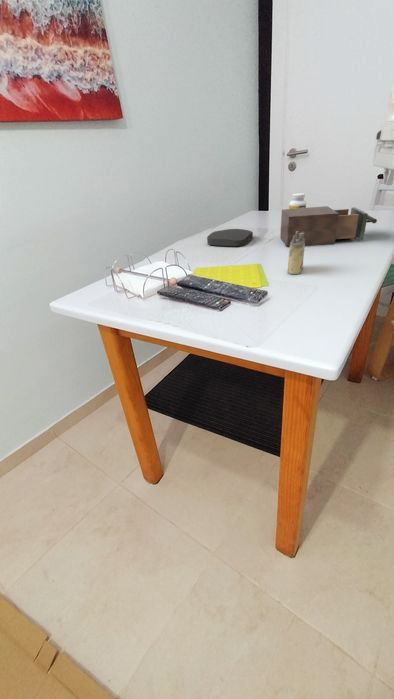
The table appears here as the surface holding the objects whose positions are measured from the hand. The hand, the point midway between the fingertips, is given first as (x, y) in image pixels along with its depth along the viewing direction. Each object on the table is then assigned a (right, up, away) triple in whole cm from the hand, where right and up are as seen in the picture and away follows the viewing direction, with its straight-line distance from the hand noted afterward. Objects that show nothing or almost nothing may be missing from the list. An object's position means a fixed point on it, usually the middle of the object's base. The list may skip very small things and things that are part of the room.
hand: (387, 184), depth 106 cm
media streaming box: (-48, -13, +17) cm, 53 cm away
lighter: (-33, -31, -13) cm, 47 cm away
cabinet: (-22, -14, +10) cm, 29 cm away
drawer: (-11, -13, +9) cm, 19 cm away
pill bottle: (-20, -2, +30) cm, 36 cm away
